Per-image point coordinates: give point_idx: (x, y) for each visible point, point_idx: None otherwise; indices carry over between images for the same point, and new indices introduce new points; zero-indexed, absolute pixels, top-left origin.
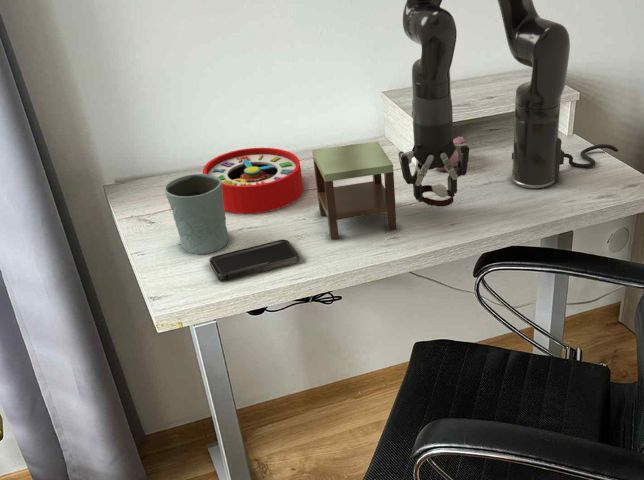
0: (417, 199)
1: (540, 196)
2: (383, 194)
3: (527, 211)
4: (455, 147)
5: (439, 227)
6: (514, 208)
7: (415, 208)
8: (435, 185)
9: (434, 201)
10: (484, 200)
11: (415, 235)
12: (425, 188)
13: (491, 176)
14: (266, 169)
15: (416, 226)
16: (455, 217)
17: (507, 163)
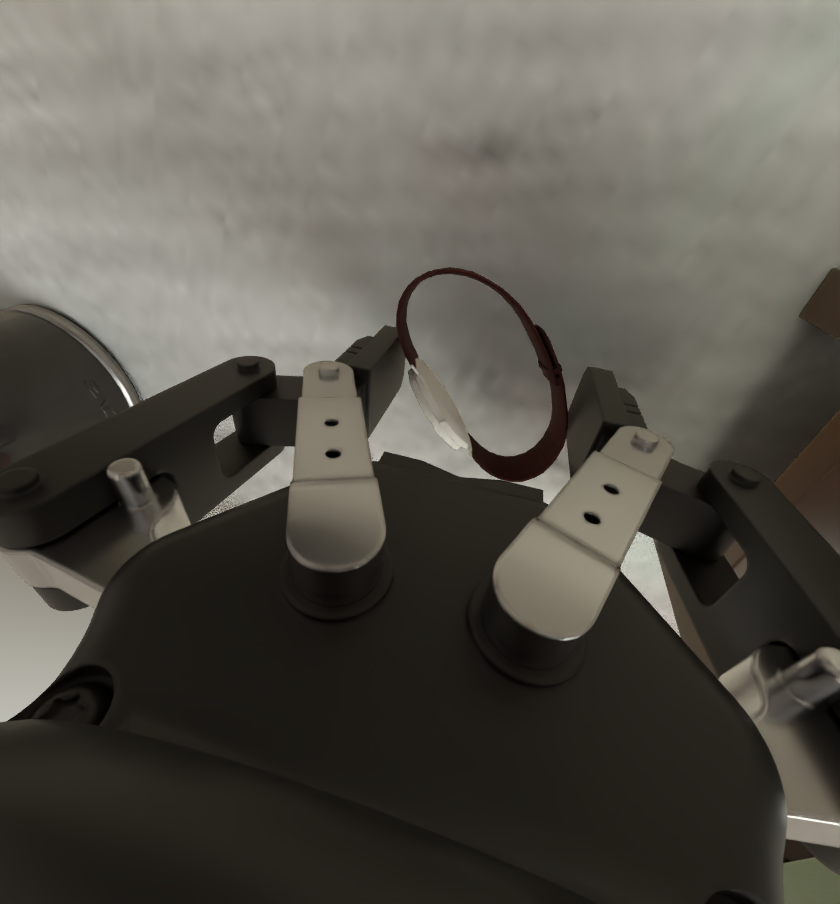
0: (620, 388)
1: (38, 246)
2: (836, 513)
3: (78, 111)
4: (116, 573)
5: (582, 154)
6: (140, 185)
7: None
8: (459, 434)
9: (530, 321)
10: (259, 334)
11: (813, 105)
12: (498, 465)
13: None
14: None
15: (693, 245)
16: (435, 240)
17: None
